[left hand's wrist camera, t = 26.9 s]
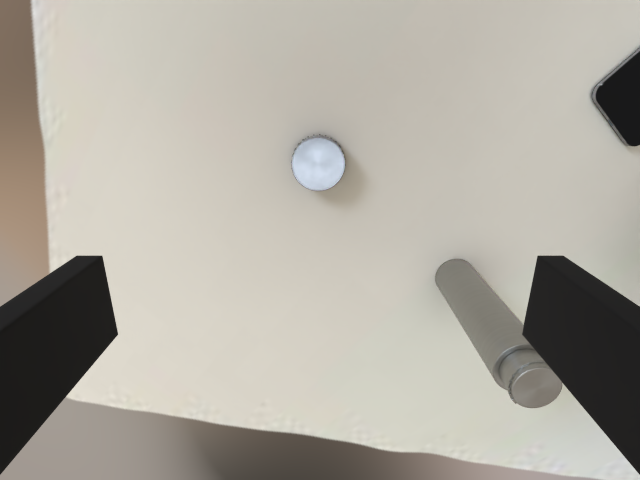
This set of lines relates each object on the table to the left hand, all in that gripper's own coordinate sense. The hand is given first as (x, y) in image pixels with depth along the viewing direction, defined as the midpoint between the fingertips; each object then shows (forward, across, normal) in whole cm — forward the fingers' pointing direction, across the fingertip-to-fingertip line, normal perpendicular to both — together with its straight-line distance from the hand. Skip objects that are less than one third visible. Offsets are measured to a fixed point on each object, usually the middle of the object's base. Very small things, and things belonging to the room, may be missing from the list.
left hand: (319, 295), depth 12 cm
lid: (+26, 0, 0) cm, 26 cm away
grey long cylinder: (+28, +14, -12) cm, 34 cm away
